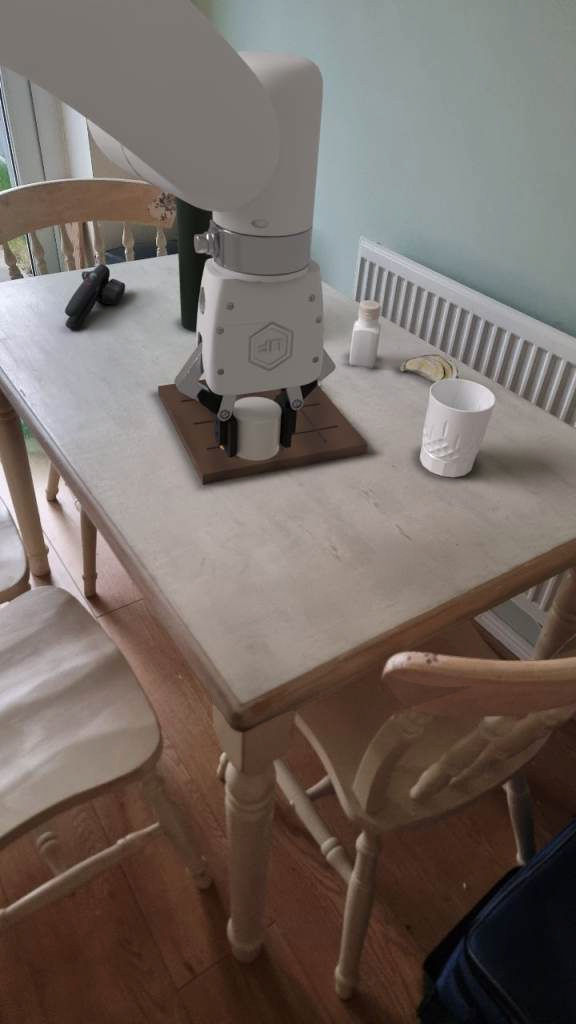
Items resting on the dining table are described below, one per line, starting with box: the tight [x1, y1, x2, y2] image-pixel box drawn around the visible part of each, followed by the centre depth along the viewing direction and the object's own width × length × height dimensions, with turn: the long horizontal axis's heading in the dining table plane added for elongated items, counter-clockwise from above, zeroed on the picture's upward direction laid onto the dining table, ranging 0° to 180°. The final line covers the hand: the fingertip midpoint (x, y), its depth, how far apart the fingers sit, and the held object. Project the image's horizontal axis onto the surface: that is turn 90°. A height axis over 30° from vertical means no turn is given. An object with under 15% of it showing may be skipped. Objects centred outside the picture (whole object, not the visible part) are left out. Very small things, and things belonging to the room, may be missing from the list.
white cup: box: [419, 378, 497, 478], centre depth 86 cm, size 8×8×10 cm
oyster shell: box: [399, 353, 459, 384], centre depth 105 cm, size 6×4×10 cm
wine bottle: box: [175, 196, 213, 332], centre depth 107 cm, size 6×6×30 cm
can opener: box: [64, 264, 126, 330], centre depth 117 cm, size 18×7×6 cm, turn 169°
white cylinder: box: [233, 397, 282, 461], centre depth 63 cm, size 5×5×4 cm
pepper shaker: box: [348, 299, 382, 368], centre depth 107 cm, size 4×4×10 cm
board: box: [157, 378, 368, 485], centre depth 94 cm, size 22×22×2 cm
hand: (255, 443), depth 64 cm, fingers closed on white cylinder, 4 cm apart
